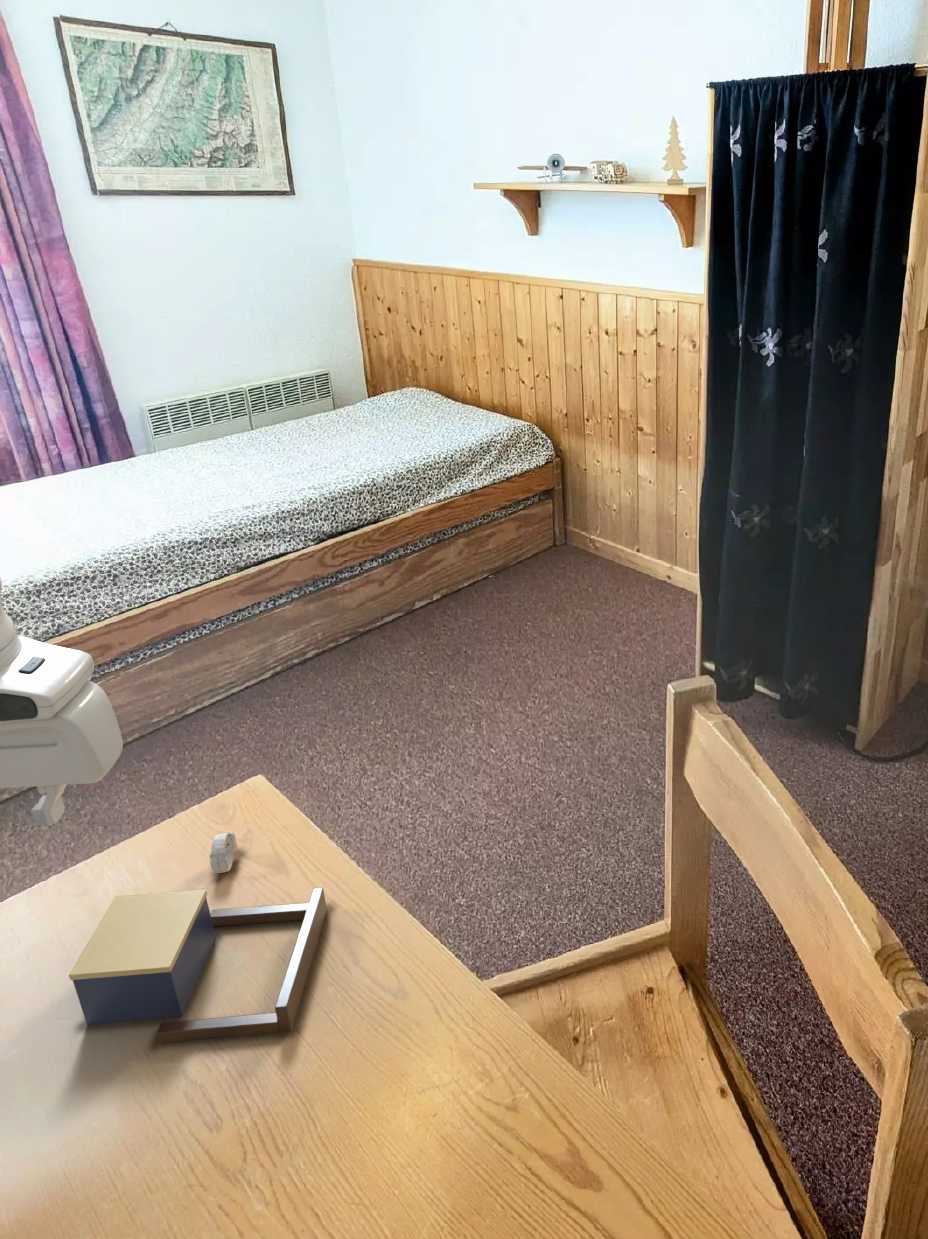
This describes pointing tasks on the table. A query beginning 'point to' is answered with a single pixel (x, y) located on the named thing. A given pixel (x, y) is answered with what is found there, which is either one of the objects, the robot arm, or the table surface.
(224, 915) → the bay
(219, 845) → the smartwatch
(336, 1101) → the table surface
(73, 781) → the robot arm
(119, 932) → the toy box
